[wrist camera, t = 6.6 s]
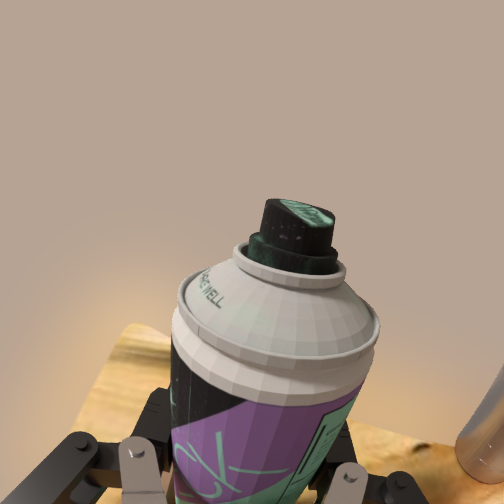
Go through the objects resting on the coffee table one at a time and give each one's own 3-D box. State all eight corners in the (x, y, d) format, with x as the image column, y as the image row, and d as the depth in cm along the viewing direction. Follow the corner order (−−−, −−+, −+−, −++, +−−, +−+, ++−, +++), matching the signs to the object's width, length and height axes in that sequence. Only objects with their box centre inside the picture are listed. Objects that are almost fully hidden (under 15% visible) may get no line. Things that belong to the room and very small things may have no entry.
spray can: (214, 488, 16) (264, 189, 11) (279, 526, 13) (418, 226, 8) (161, 530, 11) (133, 184, 6) (230, 577, 9) (403, 252, 3)
